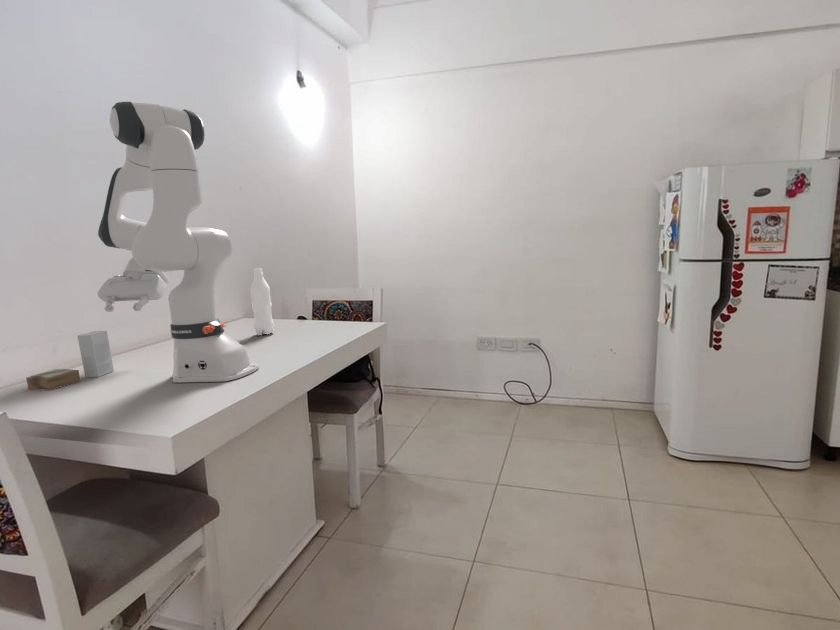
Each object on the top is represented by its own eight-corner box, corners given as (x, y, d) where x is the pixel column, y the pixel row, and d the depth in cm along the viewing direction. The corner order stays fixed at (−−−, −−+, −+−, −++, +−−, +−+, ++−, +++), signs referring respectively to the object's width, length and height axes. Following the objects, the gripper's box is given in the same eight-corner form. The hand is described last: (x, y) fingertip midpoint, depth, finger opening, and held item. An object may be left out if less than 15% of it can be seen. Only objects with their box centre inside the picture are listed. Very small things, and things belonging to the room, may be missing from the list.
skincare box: (101, 371, 140) (94, 330, 138) (114, 371, 139) (107, 330, 138) (84, 377, 134) (76, 335, 132) (97, 377, 133) (90, 334, 132)
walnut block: (80, 380, 131) (78, 369, 130) (50, 390, 123) (48, 377, 123) (59, 379, 133) (56, 368, 133) (28, 388, 126) (25, 376, 125)
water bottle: (268, 336, 179) (261, 268, 175) (251, 336, 181) (243, 269, 177) (278, 332, 186) (271, 267, 182) (261, 332, 188) (254, 267, 184)
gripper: (103, 270, 153) (84, 305, 145) (163, 266, 150) (146, 302, 142) (116, 282, 158) (98, 317, 150) (174, 279, 155) (158, 315, 147)
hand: (122, 310), depth 146 cm, fingers open, 8 cm apart
